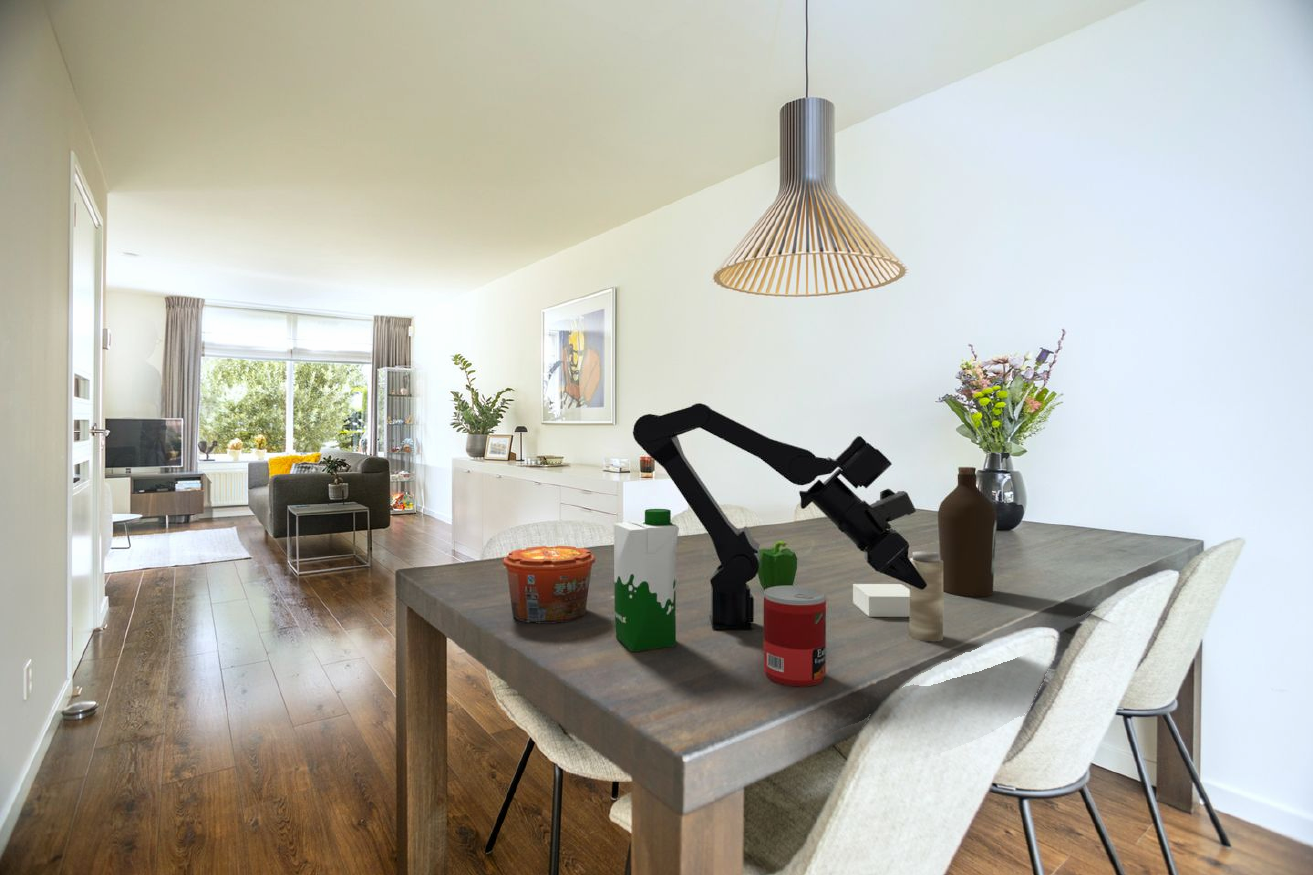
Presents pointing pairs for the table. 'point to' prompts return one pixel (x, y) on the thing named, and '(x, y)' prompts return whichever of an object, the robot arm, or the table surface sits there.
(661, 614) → the milk carton
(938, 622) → the salt mill
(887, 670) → the table surface
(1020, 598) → the table surface
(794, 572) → the bell pepper
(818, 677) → the canned food
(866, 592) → the stoneware block
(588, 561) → the food container
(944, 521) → the olive oil
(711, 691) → the table surface
